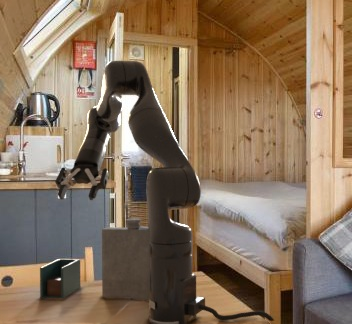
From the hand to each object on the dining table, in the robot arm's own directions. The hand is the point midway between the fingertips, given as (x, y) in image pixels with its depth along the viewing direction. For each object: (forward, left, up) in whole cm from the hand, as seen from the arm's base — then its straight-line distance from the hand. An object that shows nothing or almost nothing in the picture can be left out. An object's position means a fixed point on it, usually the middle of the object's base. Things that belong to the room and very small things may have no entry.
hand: (75, 198), depth 131 cm
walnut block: (-4, +11, -24) cm, 26 cm away
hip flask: (-24, +7, -24) cm, 35 cm away
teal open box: (-4, +10, -24) cm, 26 cm away
